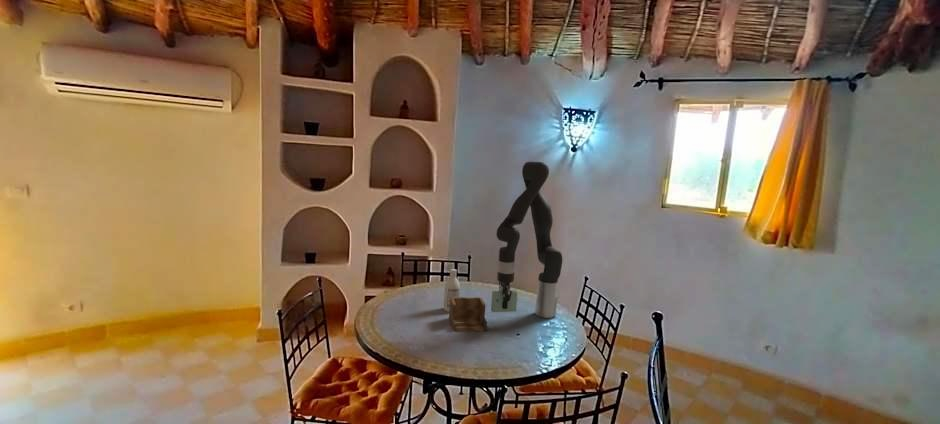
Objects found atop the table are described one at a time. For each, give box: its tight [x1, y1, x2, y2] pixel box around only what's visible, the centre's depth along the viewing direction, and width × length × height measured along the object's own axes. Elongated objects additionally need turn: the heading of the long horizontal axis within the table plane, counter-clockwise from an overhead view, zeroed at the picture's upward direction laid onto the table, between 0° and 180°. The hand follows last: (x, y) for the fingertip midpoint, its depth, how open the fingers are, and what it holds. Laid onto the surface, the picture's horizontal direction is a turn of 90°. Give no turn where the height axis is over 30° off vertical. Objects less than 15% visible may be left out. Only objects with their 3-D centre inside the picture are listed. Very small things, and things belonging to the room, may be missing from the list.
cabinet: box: [448, 296, 488, 332], centre depth 225 cm, size 14×14×10 cm
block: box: [490, 290, 518, 313], centre depth 227 cm, size 11×3×9 cm, turn 101°
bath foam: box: [443, 268, 461, 313], centre depth 240 cm, size 7×7×20 cm
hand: (503, 307), depth 227 cm, fingers closed on block, 2 cm apart
